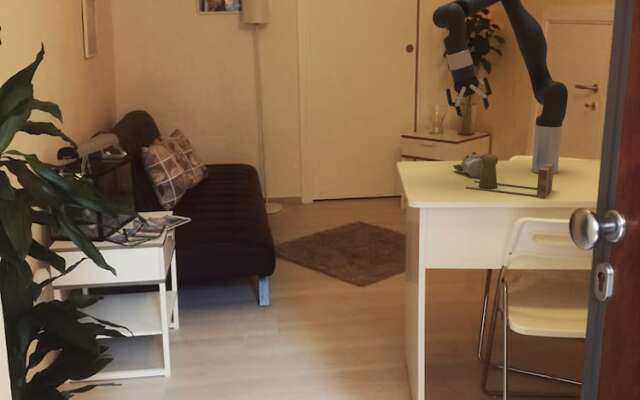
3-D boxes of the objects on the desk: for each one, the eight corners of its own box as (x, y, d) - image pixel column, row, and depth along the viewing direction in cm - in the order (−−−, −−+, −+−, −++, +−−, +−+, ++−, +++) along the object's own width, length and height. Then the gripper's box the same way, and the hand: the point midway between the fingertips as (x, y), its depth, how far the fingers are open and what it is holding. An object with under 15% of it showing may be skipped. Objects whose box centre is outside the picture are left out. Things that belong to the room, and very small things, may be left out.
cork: (497, 189, 236) (499, 157, 233) (478, 188, 237) (480, 156, 234) (496, 185, 242) (499, 153, 239) (478, 184, 243) (480, 152, 240)
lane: (475, 181, 247) (476, 155, 245) (551, 190, 236) (554, 163, 233) (465, 188, 237) (466, 162, 235) (544, 198, 225) (547, 170, 223)
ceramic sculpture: (466, 155, 248) (452, 149, 262) (465, 179, 249) (451, 172, 264) (495, 154, 249) (479, 149, 264) (494, 178, 251) (478, 172, 266)
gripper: (480, 58, 235) (492, 105, 239) (438, 71, 237) (451, 117, 241) (484, 59, 228) (496, 108, 232) (441, 72, 230) (454, 120, 234)
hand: (473, 112), depth 236 cm, fingers open, 8 cm apart
